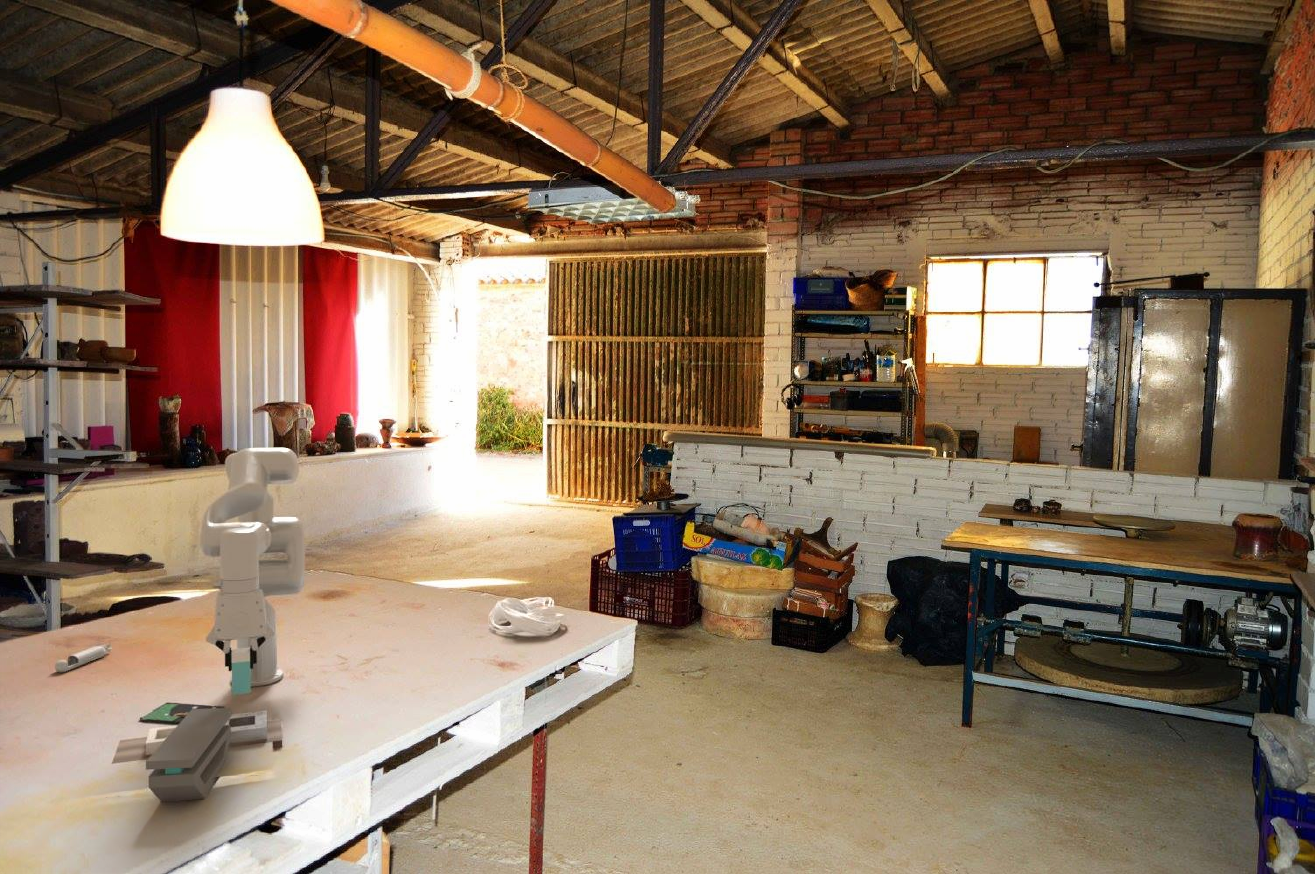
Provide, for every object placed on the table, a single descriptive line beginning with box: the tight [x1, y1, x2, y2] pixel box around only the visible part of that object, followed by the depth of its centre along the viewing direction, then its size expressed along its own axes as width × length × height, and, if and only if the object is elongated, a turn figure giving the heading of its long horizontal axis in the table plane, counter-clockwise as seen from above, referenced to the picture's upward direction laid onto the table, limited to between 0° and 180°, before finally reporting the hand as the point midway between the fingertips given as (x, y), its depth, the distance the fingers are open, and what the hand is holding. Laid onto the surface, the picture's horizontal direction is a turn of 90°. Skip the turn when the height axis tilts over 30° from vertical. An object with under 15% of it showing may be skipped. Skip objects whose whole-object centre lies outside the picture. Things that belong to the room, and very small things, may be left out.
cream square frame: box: [146, 724, 178, 755], centre depth 193 cm, size 8×8×2 cm
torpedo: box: [54, 643, 113, 673], centre depth 247 cm, size 18×5×7 cm, turn 170°
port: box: [225, 710, 268, 745], centre depth 198 cm, size 10×10×3 cm
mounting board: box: [111, 719, 283, 764], centre depth 195 cm, size 12×32×2 cm, turn 114°
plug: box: [231, 647, 252, 696], centre depth 197 cm, size 4×4×9 cm
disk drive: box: [138, 702, 225, 725], centre depth 209 cm, size 10×3×15 cm
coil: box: [487, 596, 566, 637], centre depth 289 cm, size 25×24×9 cm
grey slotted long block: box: [145, 707, 233, 802], centre depth 177 cm, size 25×8×11 cm, turn 10°
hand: (241, 667), depth 197 cm, fingers closed on plug, 3 cm apart
